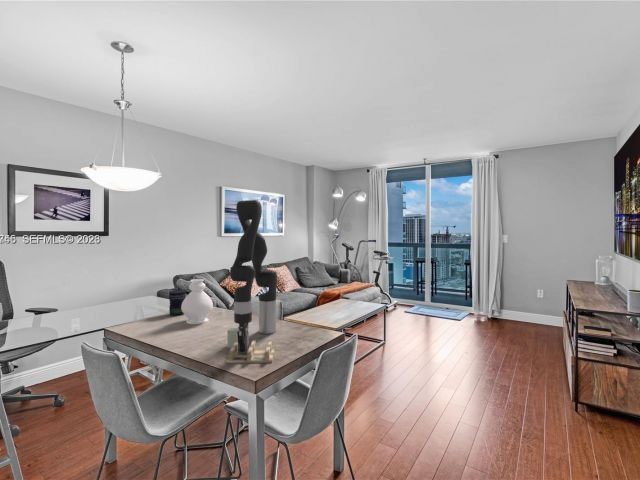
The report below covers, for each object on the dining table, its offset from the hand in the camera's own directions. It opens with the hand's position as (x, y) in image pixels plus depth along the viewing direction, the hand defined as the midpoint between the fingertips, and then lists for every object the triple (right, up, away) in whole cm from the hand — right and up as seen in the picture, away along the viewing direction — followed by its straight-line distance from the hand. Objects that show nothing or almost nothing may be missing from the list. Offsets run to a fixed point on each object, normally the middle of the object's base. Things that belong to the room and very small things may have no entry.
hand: (243, 349), depth 147 cm
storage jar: (-58, 0, +70) cm, 92 cm away
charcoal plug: (0, -1, 0) cm, 1 cm away
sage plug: (-8, -2, +13) cm, 15 cm away
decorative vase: (-40, -1, +54) cm, 67 cm away
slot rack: (+4, -3, 0) cm, 5 cm away
